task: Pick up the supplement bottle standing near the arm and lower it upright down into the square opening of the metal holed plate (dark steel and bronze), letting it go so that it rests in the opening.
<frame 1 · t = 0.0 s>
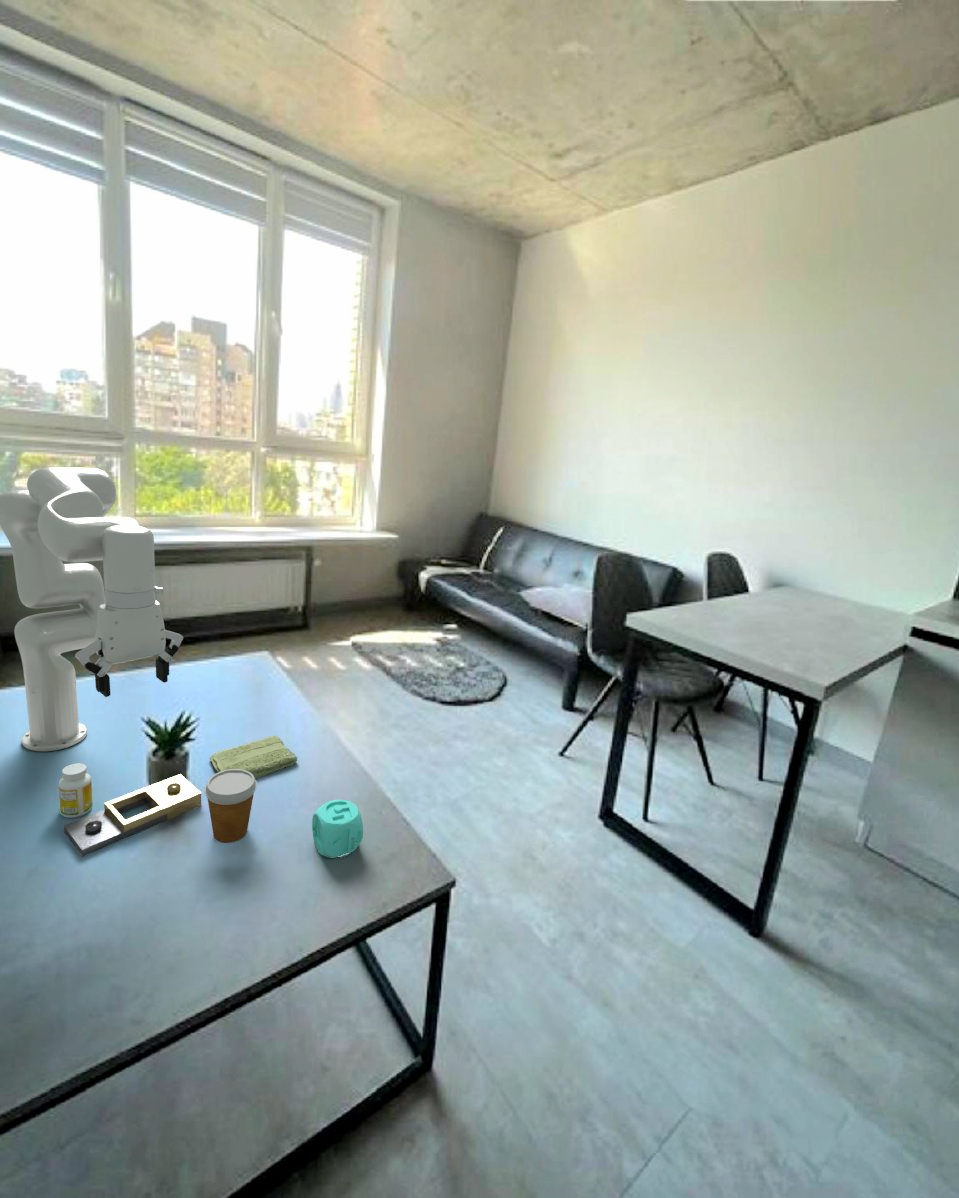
hand: (134, 686, 104), 31 cm above the table, fingers open, 9 cm apart
disposable coffee cup: (230, 833, 115), on the table
holed plate: (136, 818, 115), on the table
supplement bottle: (77, 810, 115), on the table
decorative dice: (336, 845, 116), on the table
washcloth: (253, 765, 139), on the table
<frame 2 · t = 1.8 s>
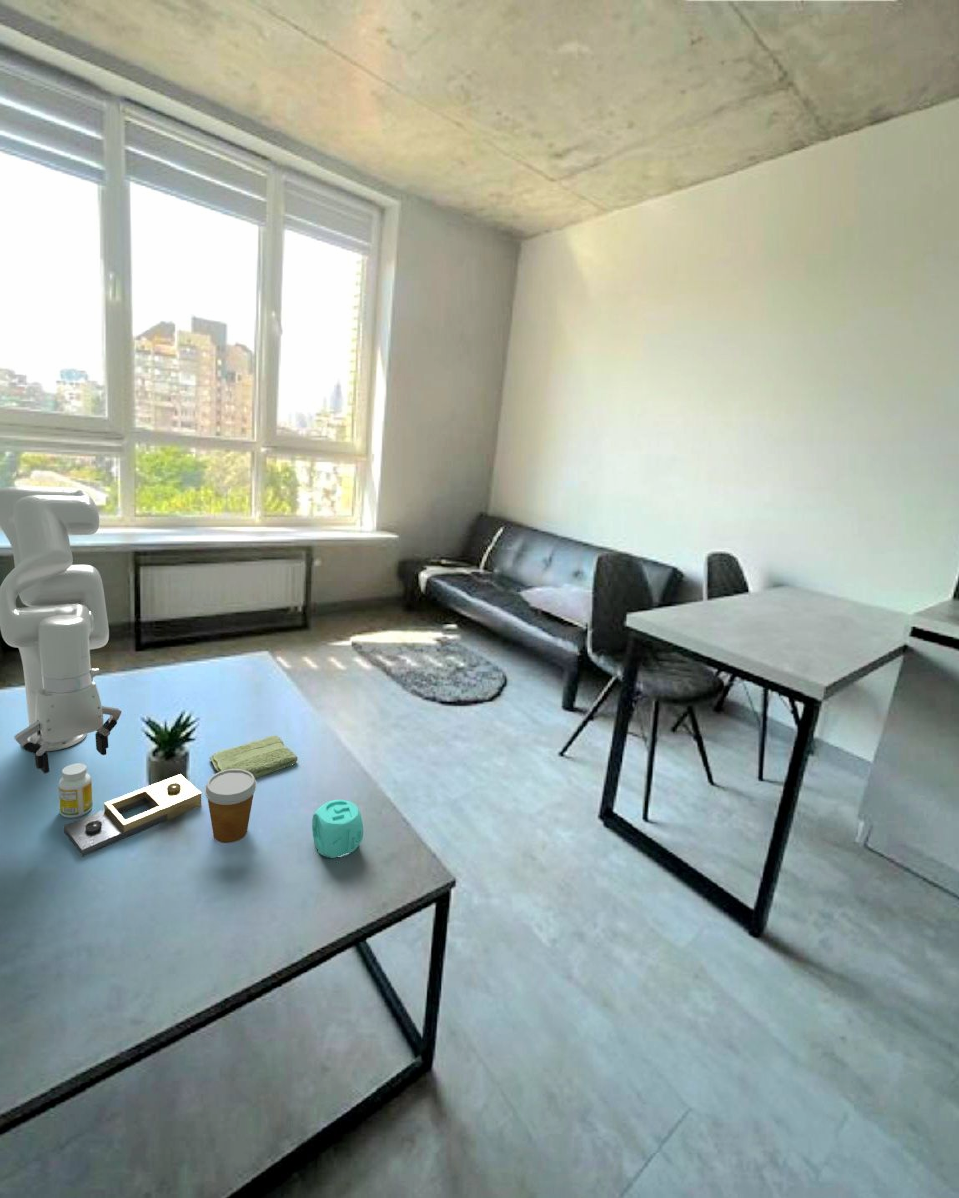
hand: (73, 760, 112), 12 cm above the table, fingers open, 9 cm apart
nothing on the table moved.
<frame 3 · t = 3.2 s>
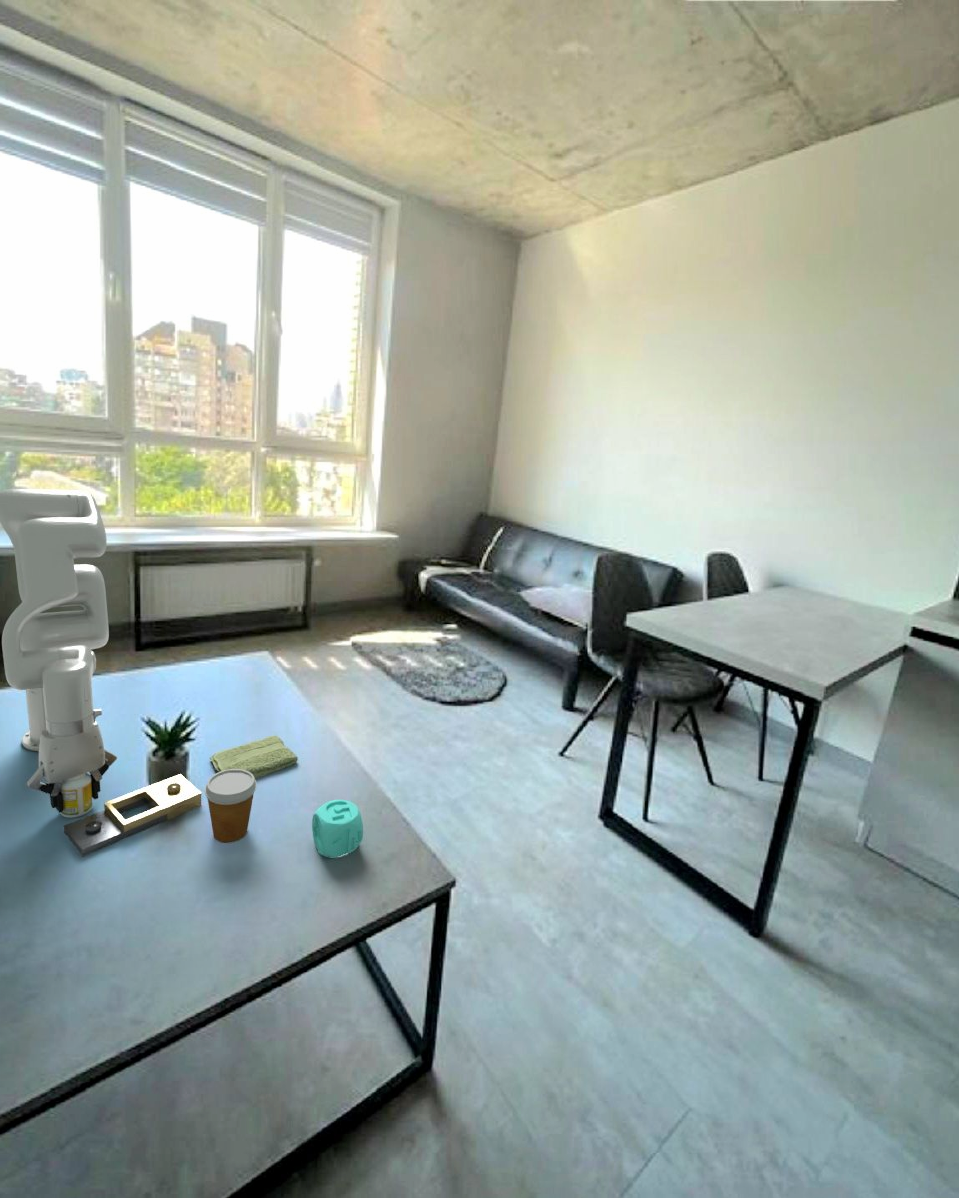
hand: (76, 801, 115), 2 cm above the table, fingers closed on supplement bottle, 5 cm apart
supplement bottle: (77, 810, 115), on the table, touching gripper
everything else where it was.
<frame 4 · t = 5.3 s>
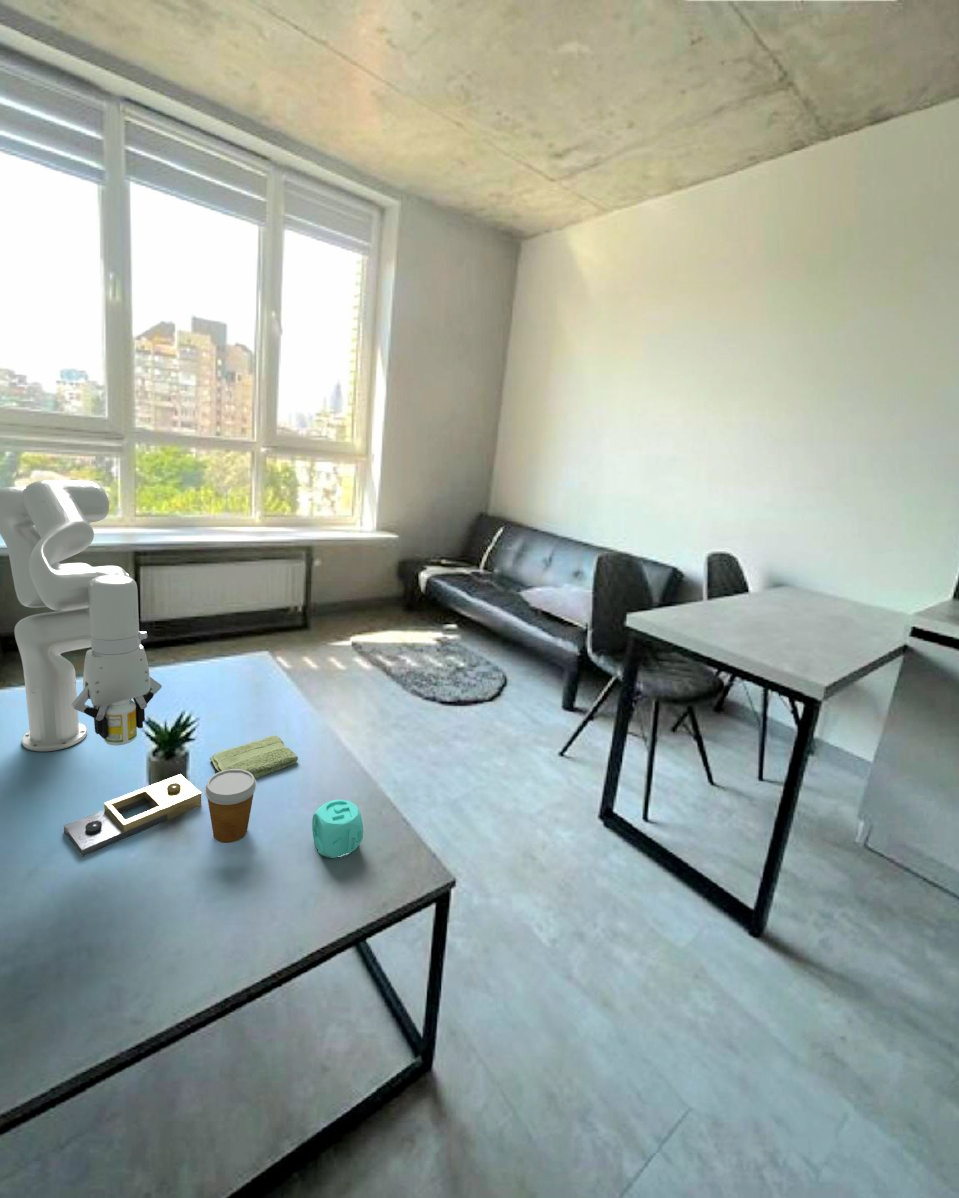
hand: (120, 729, 110), 20 cm above the table, fingers closed on supplement bottle, 5 cm apart
supplement bottle: (121, 739, 110), point 18 cm above the table, touching gripper
everything else where it was.
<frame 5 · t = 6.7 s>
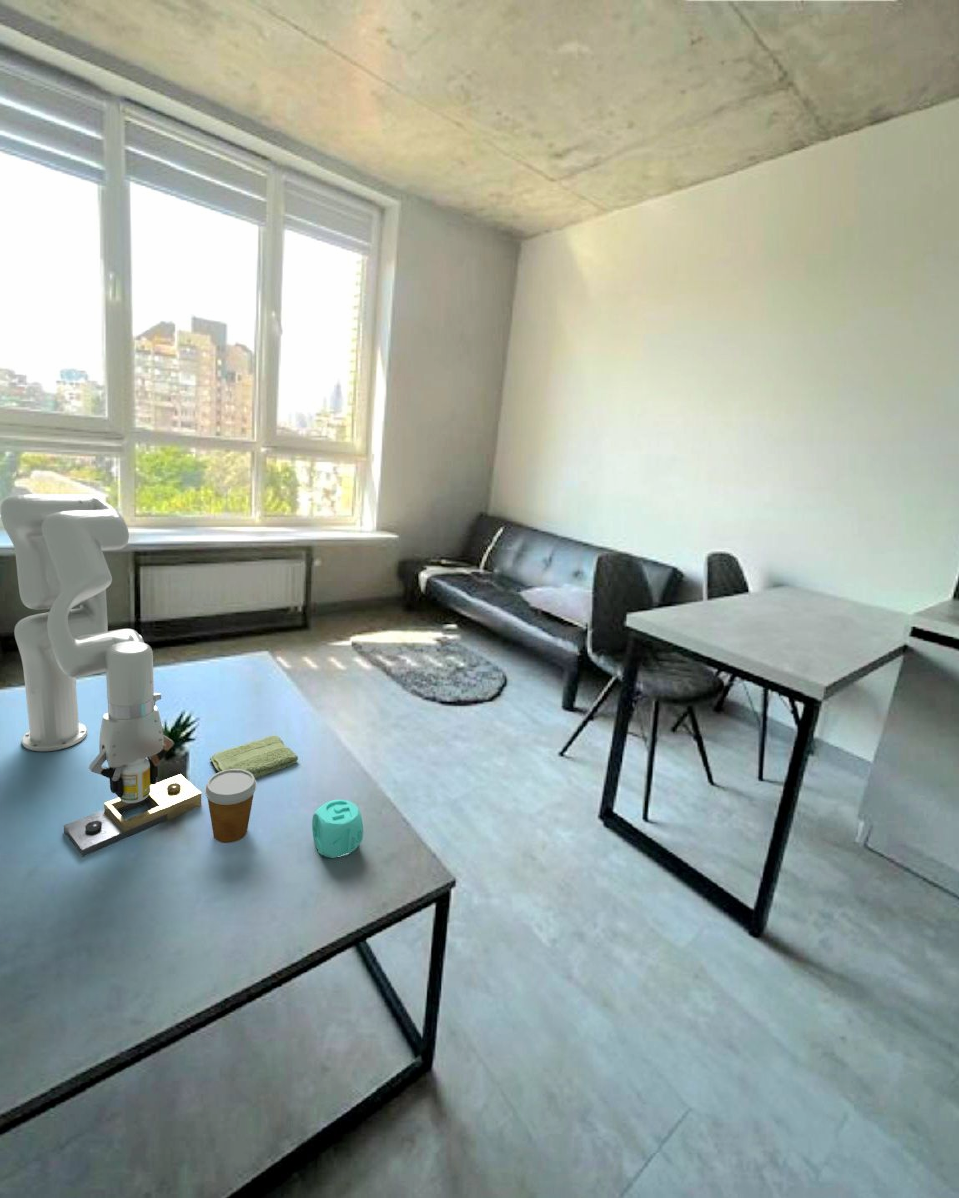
hand: (134, 786, 113), 7 cm above the table, fingers closed on supplement bottle, 5 cm apart
supplement bottle: (135, 796, 114), point 5 cm above the table, touching gripper
everything else where it was.
when the fingers open (4 cm above the table, at t = 7.8 s): supplement bottle drops 2 cm, resting in holed plate.
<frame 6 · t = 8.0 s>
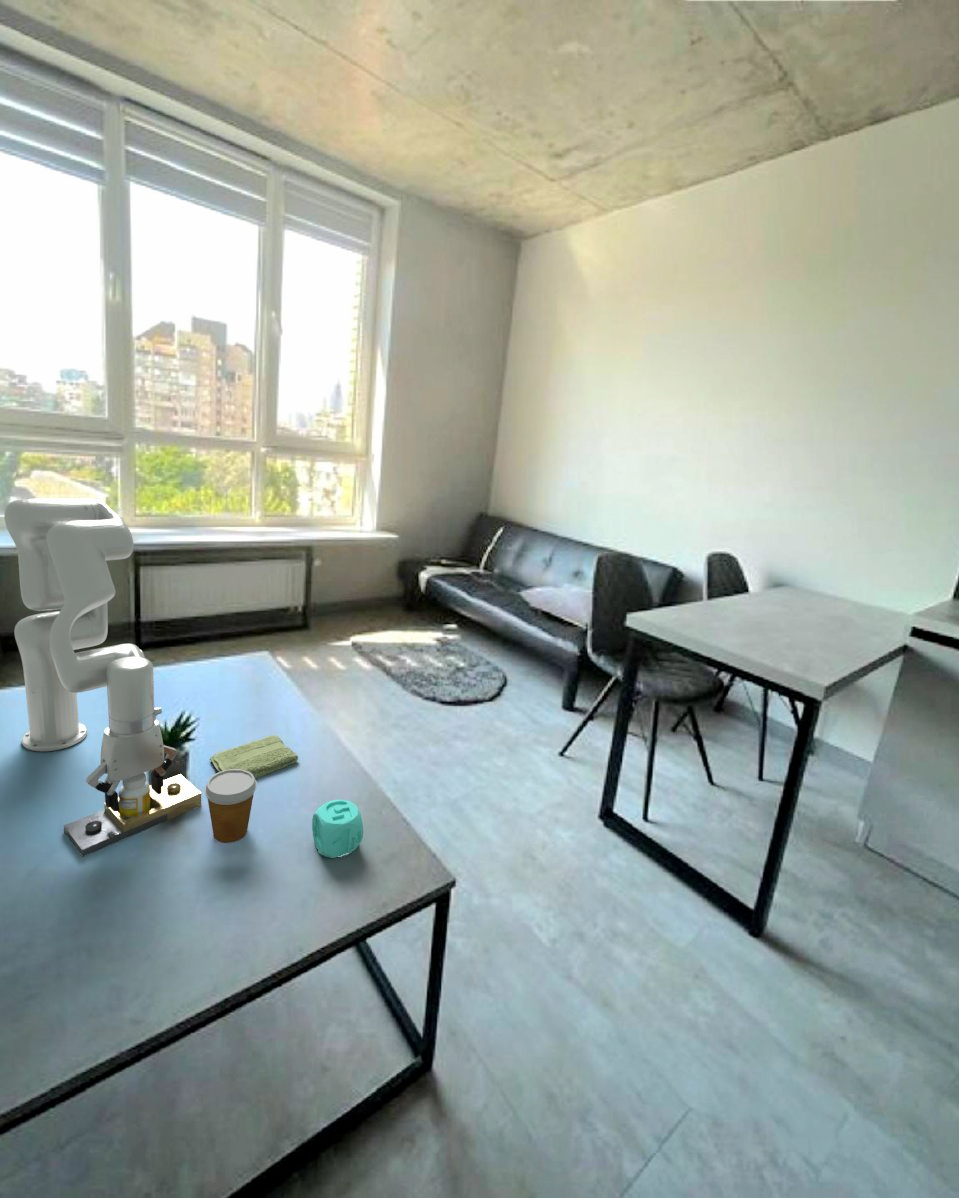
hand: (135, 798, 114), 5 cm above the table, fingers open, 7 cm apart
supplement bottle: (135, 819, 115), resting in holed plate
everything else where it was.
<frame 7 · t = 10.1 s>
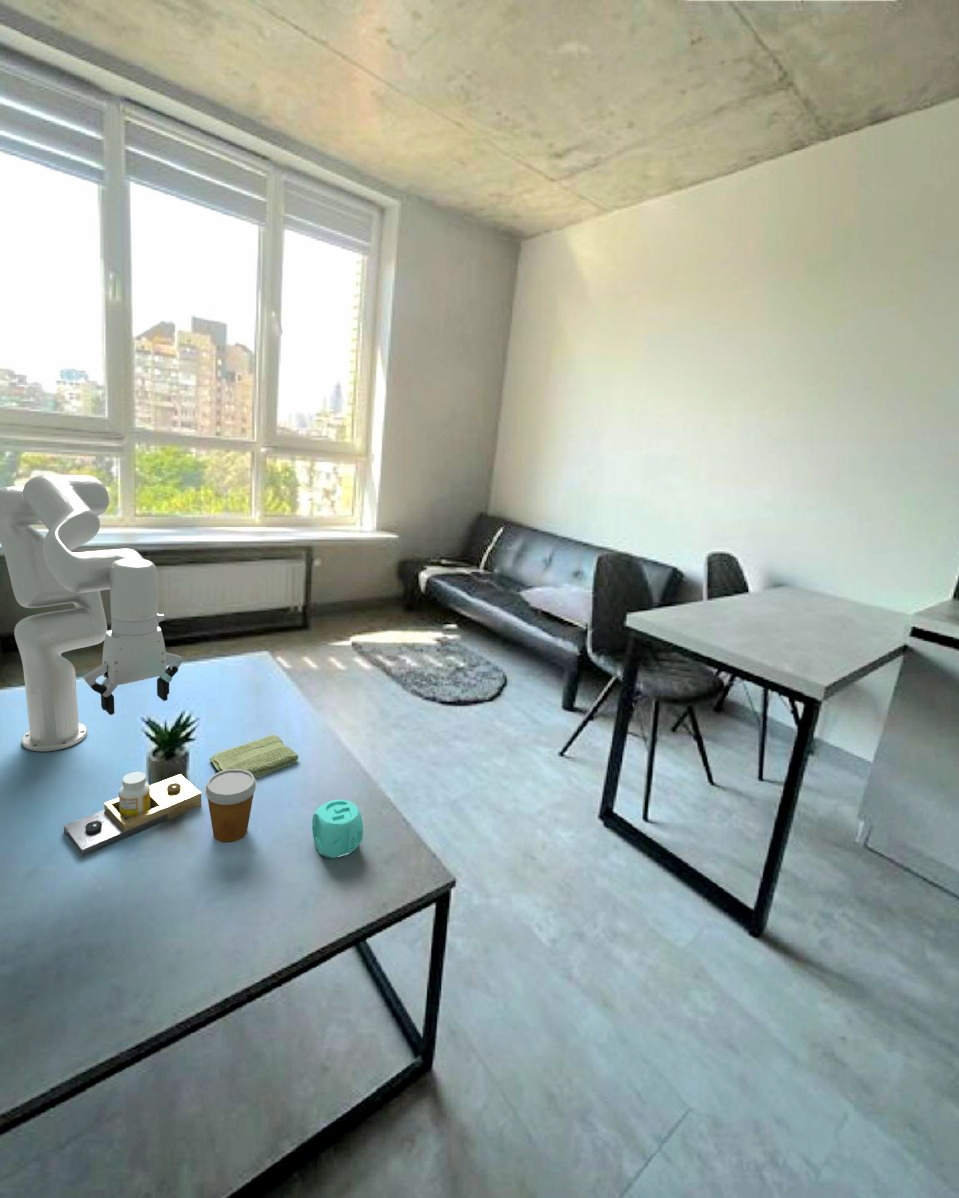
hand: (136, 704, 112), 23 cm above the table, fingers open, 9 cm apart
nothing on the table moved.
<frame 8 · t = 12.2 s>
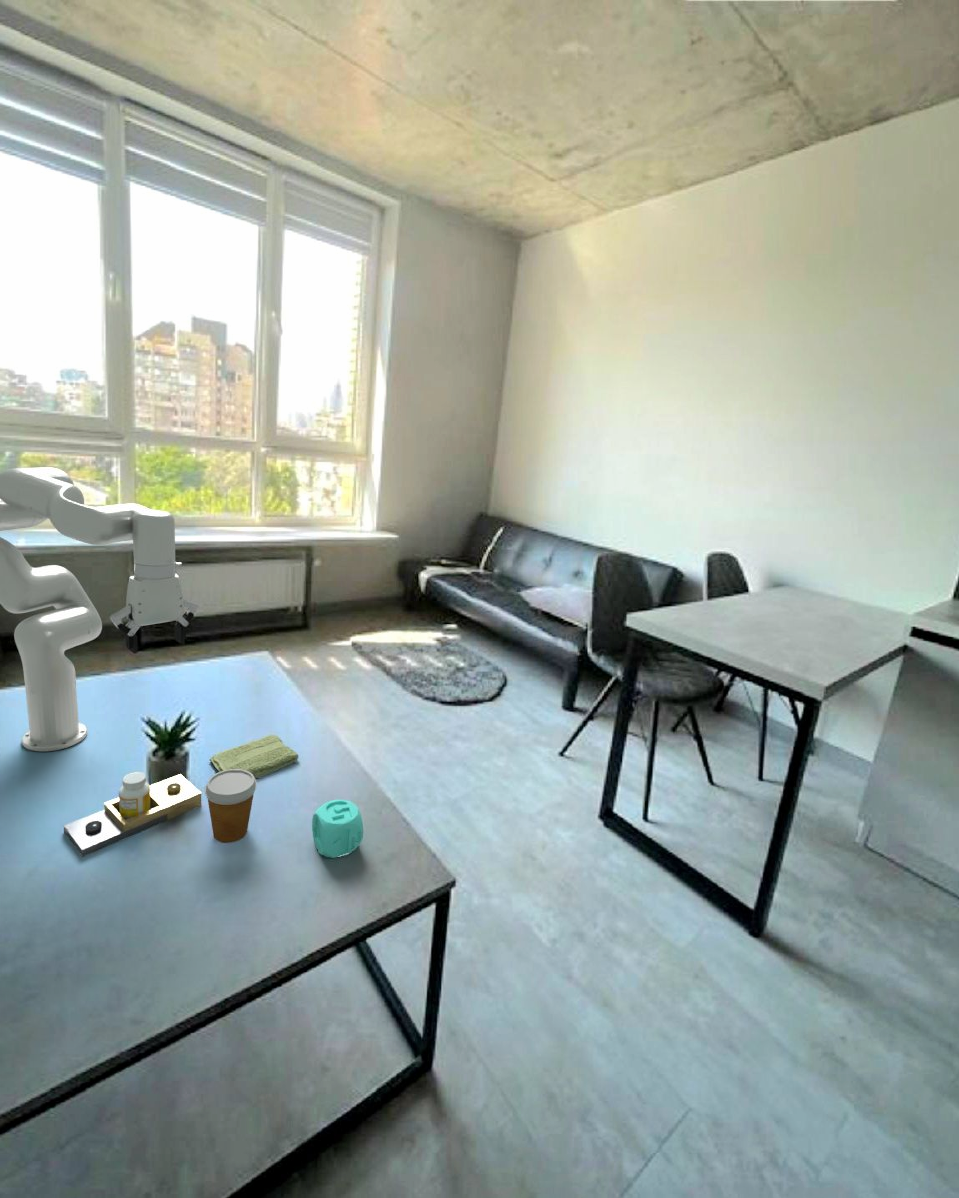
hand: (157, 646, 123), 30 cm above the table, fingers open, 9 cm apart
nothing on the table moved.
at the end: supplement bottle 0.1 cm off-centre on the holed plate, point 0.0 cm above the holed plate's base; supplement bottle tilted 0°; the gripper is holding nothing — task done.
